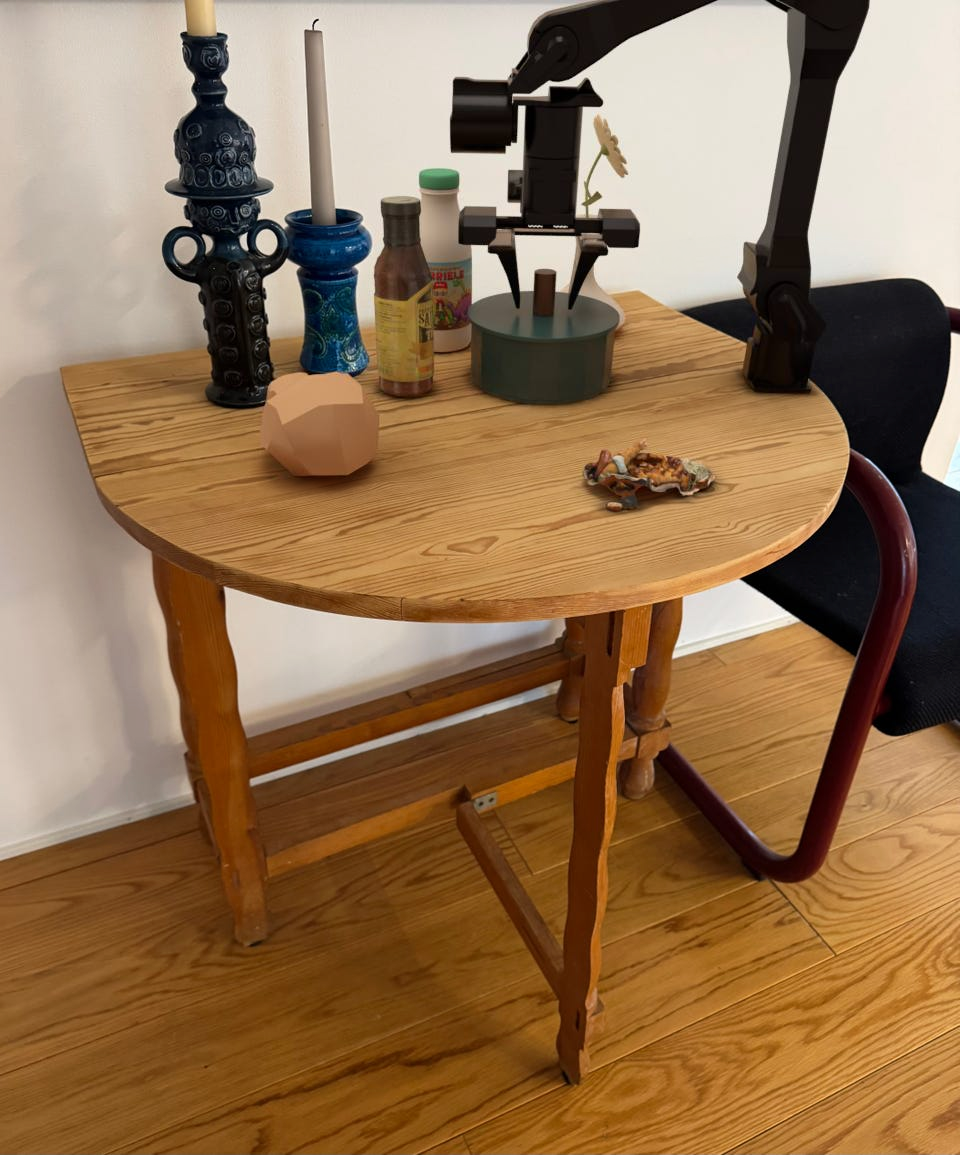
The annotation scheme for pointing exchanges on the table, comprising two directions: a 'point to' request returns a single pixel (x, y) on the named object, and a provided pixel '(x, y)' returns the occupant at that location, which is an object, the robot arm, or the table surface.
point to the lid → (543, 314)
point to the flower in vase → (616, 160)
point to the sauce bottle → (403, 302)
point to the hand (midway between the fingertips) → (543, 308)
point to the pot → (541, 368)
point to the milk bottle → (446, 258)
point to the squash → (319, 424)
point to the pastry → (645, 474)
